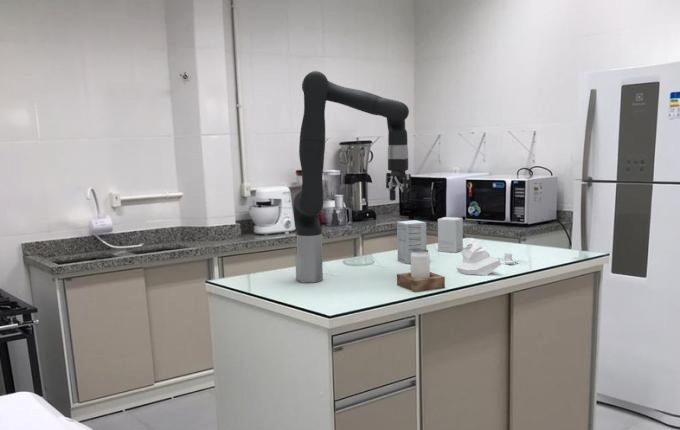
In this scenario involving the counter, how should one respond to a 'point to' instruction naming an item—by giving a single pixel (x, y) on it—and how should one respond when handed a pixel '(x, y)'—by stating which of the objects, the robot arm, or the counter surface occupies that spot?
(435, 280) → the brown open box
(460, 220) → the supplement box
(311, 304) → the counter surface
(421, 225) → the supplement box
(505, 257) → the teacup and saucer
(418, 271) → the can
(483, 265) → the white faceted sculpture
